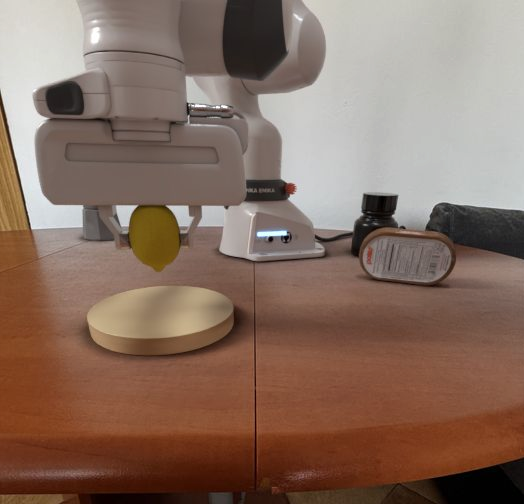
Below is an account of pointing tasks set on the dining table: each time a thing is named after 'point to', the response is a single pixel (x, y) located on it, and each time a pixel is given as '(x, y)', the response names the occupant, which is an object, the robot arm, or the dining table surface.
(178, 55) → the robot arm
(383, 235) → the tin
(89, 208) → the coffeepot
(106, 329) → the birch disc
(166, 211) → the lemon
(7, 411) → the dining table surface
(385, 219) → the ink bottle
